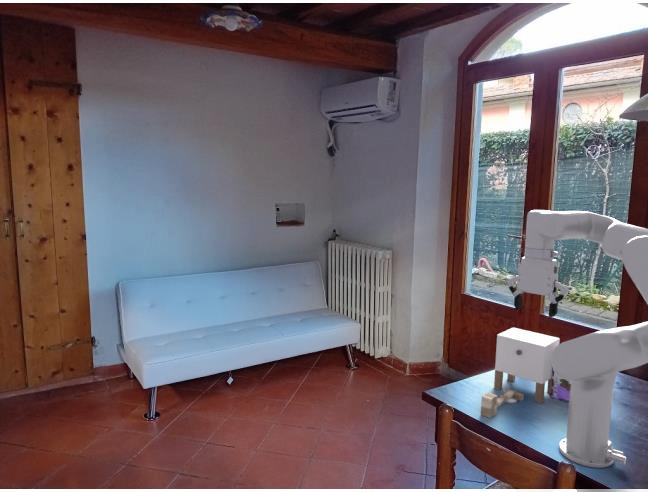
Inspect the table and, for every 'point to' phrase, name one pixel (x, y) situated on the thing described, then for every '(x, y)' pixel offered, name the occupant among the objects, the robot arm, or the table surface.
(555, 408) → the table surface
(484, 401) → the wooden mallet
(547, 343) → the cabinet
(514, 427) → the table surface
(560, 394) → the candy box
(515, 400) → the token
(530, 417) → the table surface
